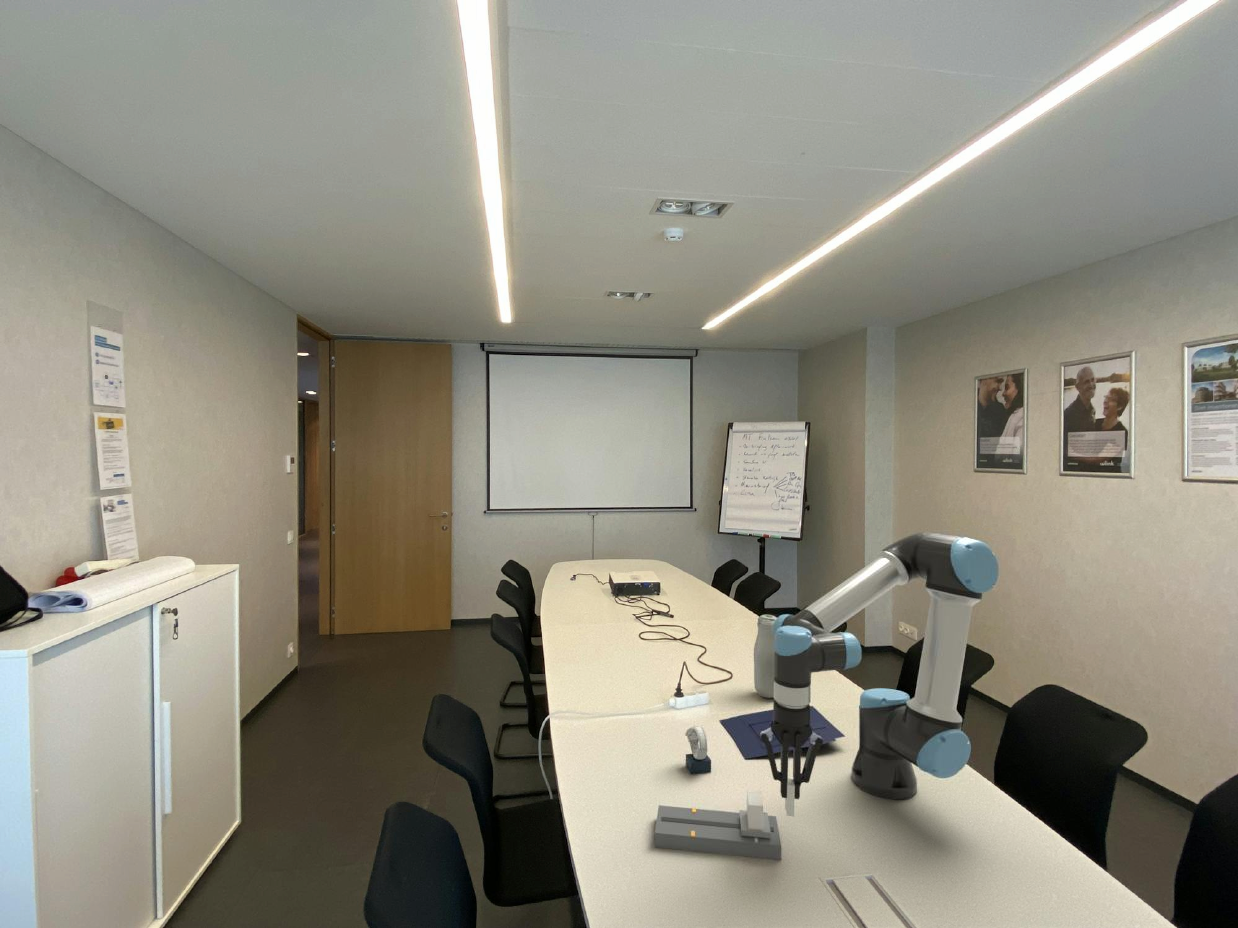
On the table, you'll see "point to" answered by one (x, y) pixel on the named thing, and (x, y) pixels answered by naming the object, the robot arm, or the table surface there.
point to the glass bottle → (764, 657)
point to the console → (712, 833)
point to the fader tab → (754, 817)
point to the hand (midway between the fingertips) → (789, 812)
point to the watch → (697, 751)
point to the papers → (752, 745)
